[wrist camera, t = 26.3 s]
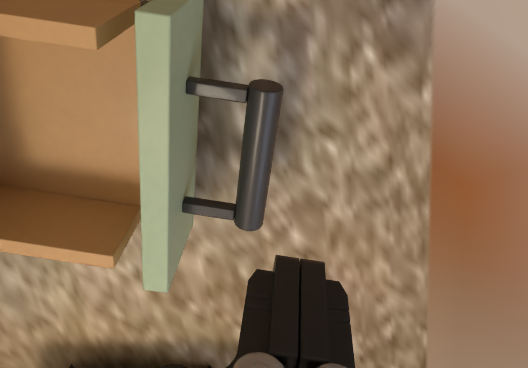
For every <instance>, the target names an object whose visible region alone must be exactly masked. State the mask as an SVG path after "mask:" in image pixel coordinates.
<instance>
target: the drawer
mask: <svg viewBox="0 0 528 368" xmlns="http://www.w3.org/2000/svg"><path fill="white" fill-rule="evenodd" d="M203 5H204V0H151V1H149V2H148V3H146V4H145V5H143V6H141V1H139V0H0V251H2V252H9V253H15V254H22V255H28V256H35V257H41V258H47V259H54V260H60V261H67V262H73V263H80V264H86V265H92V266H99V267H105V268H112V269H114V267H115V266H116V264H117V262H118V260H119V258H120V256H121V254H122V253H123V251H124V249H125V247H126V245H127V243H128V241H129V240H130V238H131V236H132V234H133V232H134V230H135V228H136V227H137V225H138V223H139V221H140V219H141V239H142V271H143V289H144V290H150V291H156V292H162V293H168V291H169V288H170V285H171V283H172V280H173V277H174V274H175V272H176V269H177V266H178V264H179V261H180V258H181V255H182V253H183V250H184V247H185V245H186V242H187V239H188V236H189V234H190V231H191V228H192V225H193V214H195V215H202V216H208V217H215V218H221V219H228V220H234V223H235V225H236V226H237V227H238V228H240V229H242V230H245V231H255V230H258V229H259V228H261V226H262V225H263V219H264V212H265V206H266V199H267V193H268V186H269V180H270V173H271V167H272V160H273V154H274V147H275V141H276V134H277V128H278V121H279V115H280V108H281V102H282V95H283V86H282V85H281V84H279V83H277V82H274V81H271V80H264V79H259V80H253V81H251V82H250V83H249V86H248V85H244V84H237V83H231V82H224V81H218V80H211V79H204V78H200V68H201V47H202V26H203ZM199 96H202V97H209V98H216V99H222V100H229V101H235V102H242V103H246V102H247V106H246V115H245V125H244V134H243V143H242V152H241V161H240V170H239V179H238V189H237V198H236V204H233V203H226V202H220V201H213V200H207V199H200V198H194V193H195V172H196V151H197V131H198V110H199Z"/></svg>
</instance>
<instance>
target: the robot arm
mask: <svg viewBox="0 0 528 368" xmlns="http://www.w3.org/2000/svg"><path fill="white" fill-rule="evenodd" d="M159 368H186V367H184V366H181V365H174V364H171V365H164V366H161V367H159ZM226 368H355V362H354V353H353V344H352V334H351V325H350V315H349V306H348V297H347V294H346V292H345V290H344V289H343V287H342V285H341V284H340V282H339V281H332V280H326V277H325V263H324V262H320V261H314V260H307V259H300V262H299V258H293V257H287V256H280V255H276V257H275V262H274V267H273V272H272V271H266V270H259V269H257V270H256V271H255V272H254V274H253V275H252V276H251V278H250V279H249V280H248V286H247V293H246V299H245V306H244V312H243V319H242V325H241V332H240V339H239V345H238V351H237V354H236V357H235V358H234V360H233V361H232V363H231V364H230V365H229V366H227V367H226Z"/></svg>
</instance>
